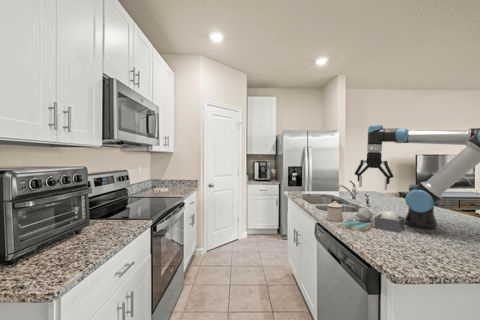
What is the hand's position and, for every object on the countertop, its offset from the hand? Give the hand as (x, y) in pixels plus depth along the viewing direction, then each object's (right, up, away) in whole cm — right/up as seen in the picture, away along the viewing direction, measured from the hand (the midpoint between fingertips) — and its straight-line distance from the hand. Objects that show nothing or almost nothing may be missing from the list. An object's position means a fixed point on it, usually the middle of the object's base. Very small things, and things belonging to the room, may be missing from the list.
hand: (372, 188), depth 148 cm
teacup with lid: (-20, -21, +9) cm, 30 cm away
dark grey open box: (+5, -21, -9) cm, 23 cm away
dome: (+5, -20, -9) cm, 22 cm away
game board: (-13, -21, -7) cm, 25 cm away
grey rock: (-2, -21, +6) cm, 22 cm away
